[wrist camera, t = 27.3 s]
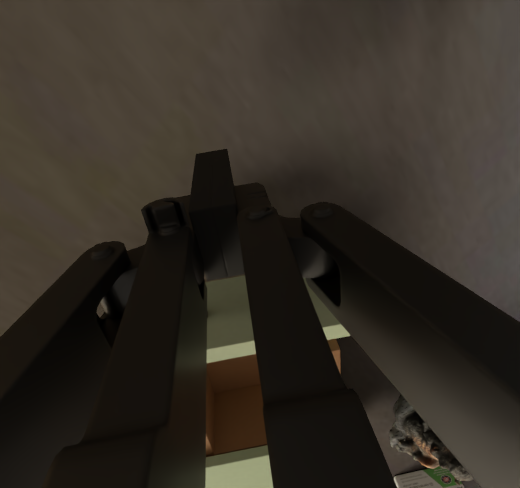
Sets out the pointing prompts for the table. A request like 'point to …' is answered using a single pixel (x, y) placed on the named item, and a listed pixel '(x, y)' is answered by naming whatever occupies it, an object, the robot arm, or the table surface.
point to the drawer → (241, 366)
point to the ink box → (427, 479)
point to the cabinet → (239, 469)
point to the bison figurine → (422, 442)
